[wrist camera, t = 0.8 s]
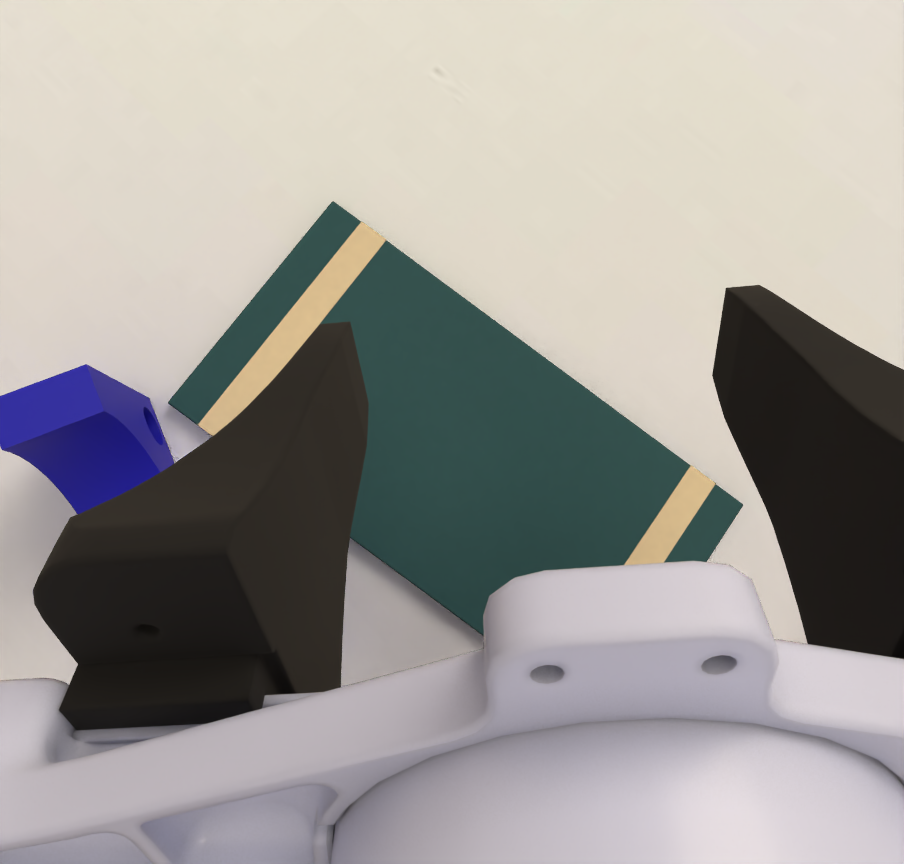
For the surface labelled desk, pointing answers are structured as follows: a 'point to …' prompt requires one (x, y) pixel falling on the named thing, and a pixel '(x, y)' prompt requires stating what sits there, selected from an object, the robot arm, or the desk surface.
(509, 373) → the cloth
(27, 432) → the cable clip
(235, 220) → the desk surface
